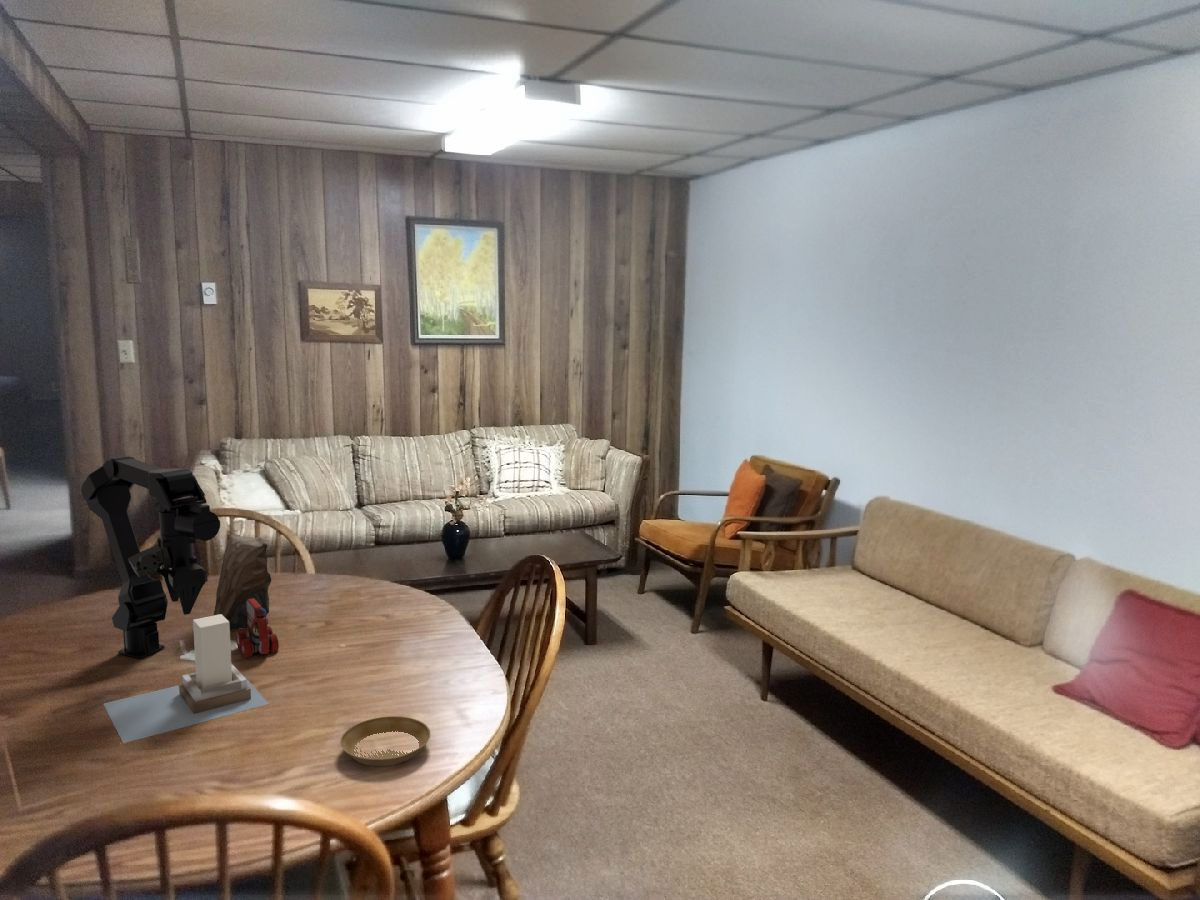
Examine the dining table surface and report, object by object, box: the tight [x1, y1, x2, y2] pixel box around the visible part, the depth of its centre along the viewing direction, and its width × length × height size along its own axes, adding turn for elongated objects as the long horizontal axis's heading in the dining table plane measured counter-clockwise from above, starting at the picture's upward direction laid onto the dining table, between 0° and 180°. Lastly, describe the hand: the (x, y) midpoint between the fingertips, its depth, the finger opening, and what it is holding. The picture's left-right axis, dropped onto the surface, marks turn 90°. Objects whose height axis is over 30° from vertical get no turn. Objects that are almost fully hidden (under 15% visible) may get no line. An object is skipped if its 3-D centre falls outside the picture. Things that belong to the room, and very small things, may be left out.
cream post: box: [192, 614, 232, 689], centre depth 156 cm, size 5×5×13 cm
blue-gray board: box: [103, 670, 270, 745], centre depth 154 cm, size 18×24×1 cm
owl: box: [213, 533, 272, 631], centre depth 195 cm, size 13×13×20 cm
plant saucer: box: [340, 715, 431, 767], centre depth 141 cm, size 15×15×3 cm
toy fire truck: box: [235, 598, 280, 659], centre depth 179 cm, size 7×12×10 cm, turn 35°
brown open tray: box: [178, 663, 251, 714], centre depth 157 cm, size 10×10×4 cm
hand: (180, 607), depth 168 cm, fingers open, 9 cm apart
